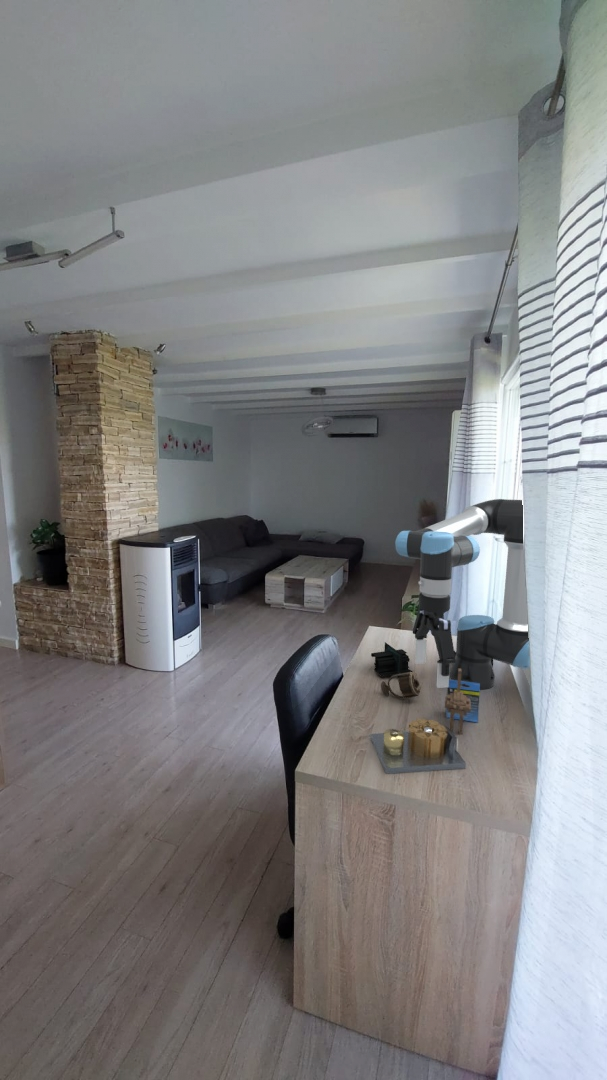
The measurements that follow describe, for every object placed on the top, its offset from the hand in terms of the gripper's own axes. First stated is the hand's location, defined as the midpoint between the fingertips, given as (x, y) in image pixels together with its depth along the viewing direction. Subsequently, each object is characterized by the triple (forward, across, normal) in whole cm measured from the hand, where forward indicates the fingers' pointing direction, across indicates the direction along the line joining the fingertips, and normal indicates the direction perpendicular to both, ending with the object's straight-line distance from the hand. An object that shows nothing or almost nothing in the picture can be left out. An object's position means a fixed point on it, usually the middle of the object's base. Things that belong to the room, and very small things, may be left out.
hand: (430, 674), depth 109 cm
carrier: (+21, +2, -4) cm, 21 cm away
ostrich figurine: (+22, -2, +9) cm, 23 cm away
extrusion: (+21, -44, +5) cm, 49 cm away
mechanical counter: (+21, -24, +2) cm, 32 cm away
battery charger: (+22, -50, +40) cm, 68 cm away
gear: (+19, +2, -1) cm, 19 cm away
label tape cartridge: (+21, -13, +16) cm, 30 cm away
